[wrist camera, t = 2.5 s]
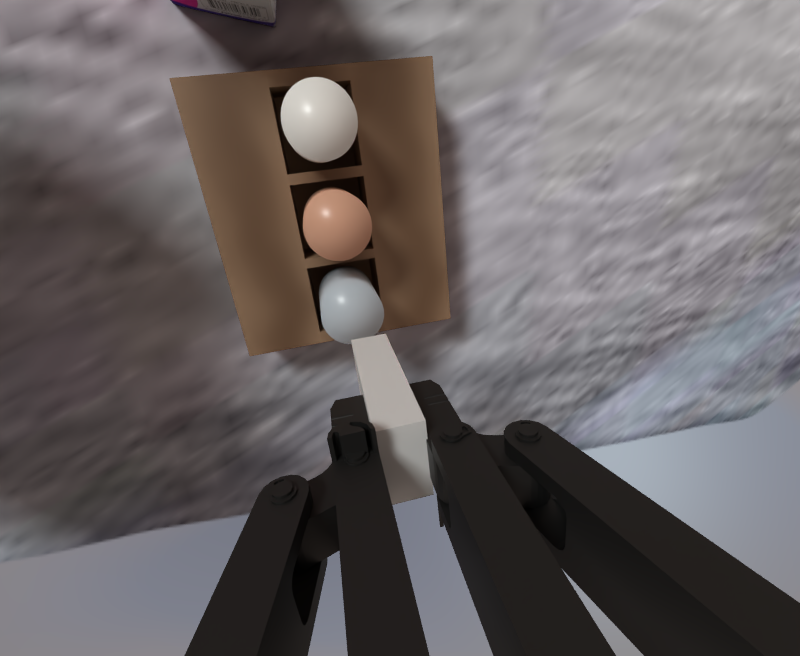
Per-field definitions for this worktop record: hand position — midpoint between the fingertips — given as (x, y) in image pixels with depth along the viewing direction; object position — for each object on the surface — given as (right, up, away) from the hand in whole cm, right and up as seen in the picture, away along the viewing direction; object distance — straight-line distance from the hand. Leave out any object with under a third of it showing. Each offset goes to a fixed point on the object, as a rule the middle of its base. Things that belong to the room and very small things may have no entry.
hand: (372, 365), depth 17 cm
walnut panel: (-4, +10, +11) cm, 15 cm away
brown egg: (-3, +8, +7) cm, 11 cm away
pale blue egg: (-2, +4, +9) cm, 10 cm away
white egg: (-3, +13, +5) cm, 14 cm away
